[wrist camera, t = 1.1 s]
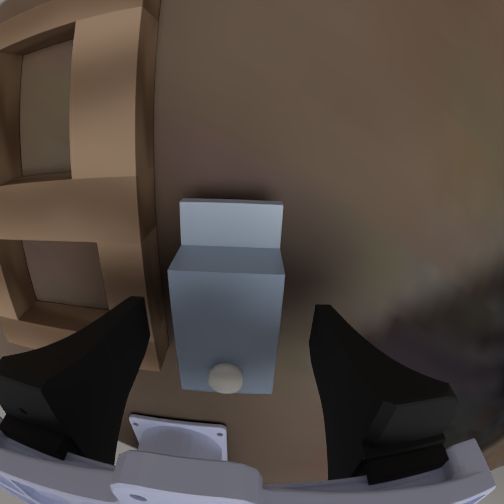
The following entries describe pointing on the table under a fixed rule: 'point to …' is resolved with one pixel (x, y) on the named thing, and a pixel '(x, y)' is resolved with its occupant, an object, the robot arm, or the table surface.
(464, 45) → the table surface
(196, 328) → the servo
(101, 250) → the frame
